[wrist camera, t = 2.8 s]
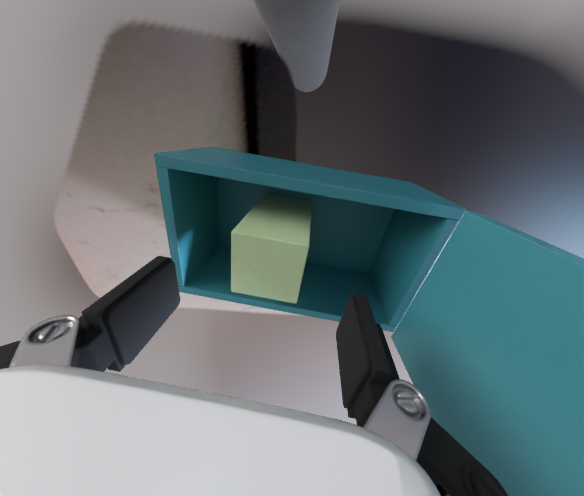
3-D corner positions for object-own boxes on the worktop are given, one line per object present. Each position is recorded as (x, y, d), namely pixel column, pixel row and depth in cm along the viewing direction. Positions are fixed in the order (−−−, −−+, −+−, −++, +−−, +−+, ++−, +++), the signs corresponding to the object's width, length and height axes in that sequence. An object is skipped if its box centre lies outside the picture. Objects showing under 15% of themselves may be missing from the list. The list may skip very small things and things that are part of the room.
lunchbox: (216, 247, 23) (176, 291, 17) (212, 146, 18) (153, 153, 12) (371, 275, 23) (393, 332, 16) (410, 181, 18) (467, 209, 11)
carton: (261, 234, 21) (230, 291, 13) (265, 192, 19) (230, 231, 11) (303, 242, 21) (296, 304, 13) (312, 200, 19) (309, 245, 11)
